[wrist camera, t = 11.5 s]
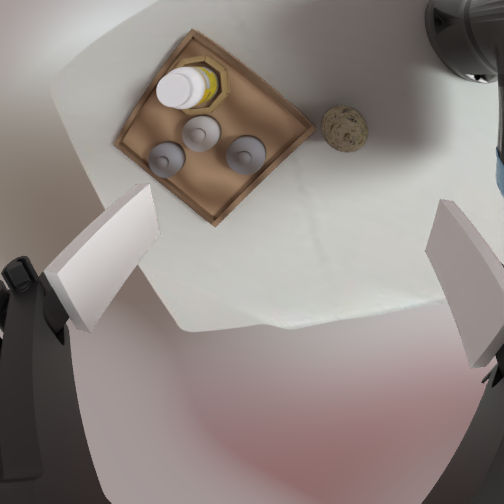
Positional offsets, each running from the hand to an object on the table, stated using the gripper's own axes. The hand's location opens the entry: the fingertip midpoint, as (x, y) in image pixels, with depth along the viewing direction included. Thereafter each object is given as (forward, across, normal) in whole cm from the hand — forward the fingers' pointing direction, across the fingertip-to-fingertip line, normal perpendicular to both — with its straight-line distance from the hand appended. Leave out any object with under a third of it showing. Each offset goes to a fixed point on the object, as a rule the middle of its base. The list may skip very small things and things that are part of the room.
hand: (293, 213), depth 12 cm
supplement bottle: (+28, -14, +5) cm, 32 cm away
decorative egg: (+30, +5, -1) cm, 31 cm away
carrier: (+30, -14, -2) cm, 33 cm away
